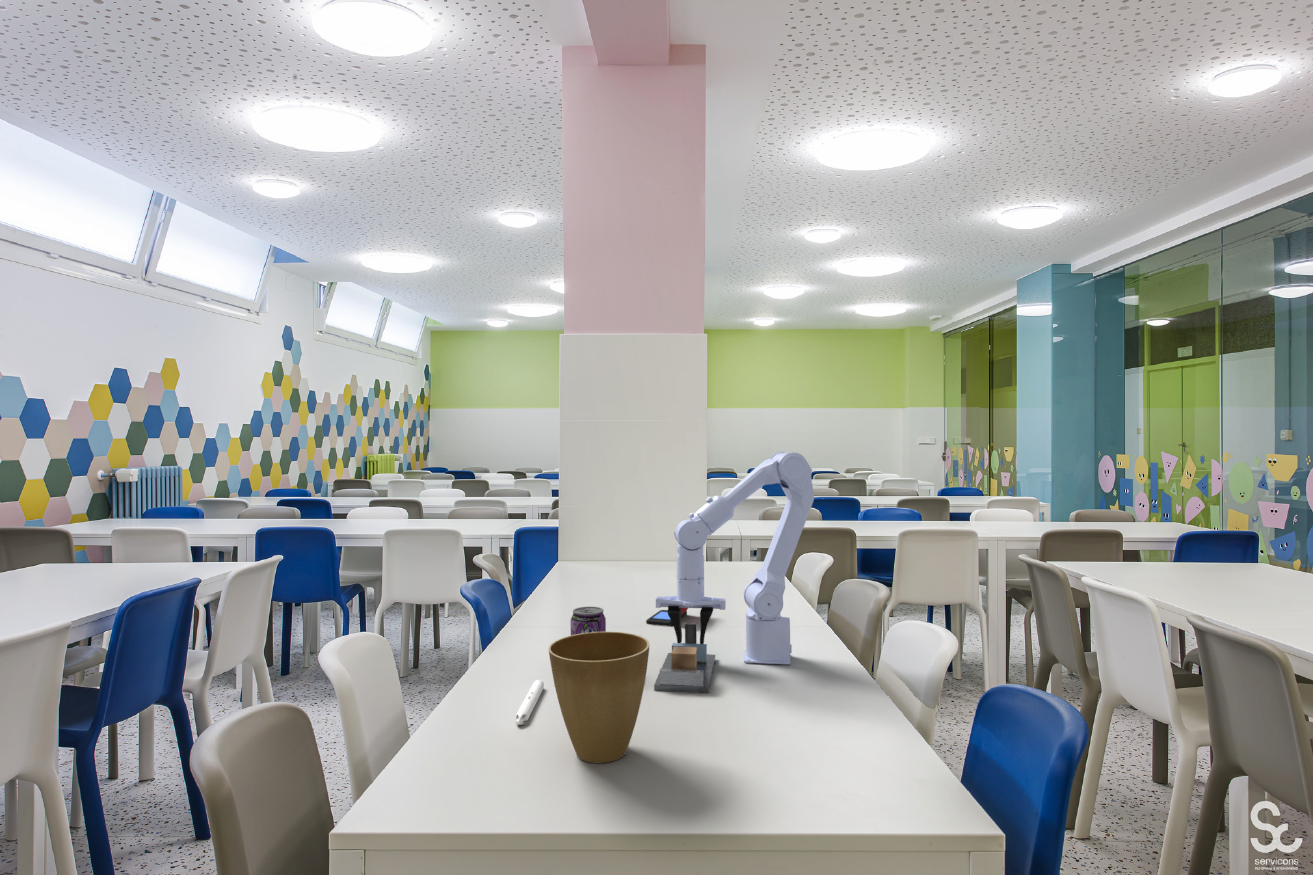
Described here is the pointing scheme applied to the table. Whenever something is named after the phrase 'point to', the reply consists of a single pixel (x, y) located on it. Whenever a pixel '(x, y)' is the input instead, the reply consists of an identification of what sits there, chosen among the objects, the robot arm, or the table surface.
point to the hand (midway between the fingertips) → (690, 642)
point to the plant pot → (600, 690)
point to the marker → (529, 702)
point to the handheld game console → (664, 618)
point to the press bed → (685, 676)
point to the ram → (693, 642)
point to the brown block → (684, 658)
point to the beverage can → (588, 620)
